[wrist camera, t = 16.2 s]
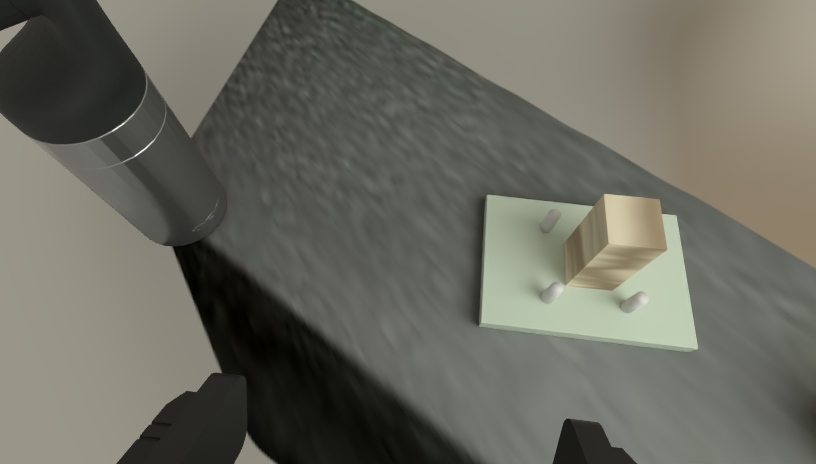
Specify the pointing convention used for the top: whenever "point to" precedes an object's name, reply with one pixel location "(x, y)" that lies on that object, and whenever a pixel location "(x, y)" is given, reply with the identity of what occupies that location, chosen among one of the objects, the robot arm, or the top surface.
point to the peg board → (574, 306)
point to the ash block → (614, 242)
